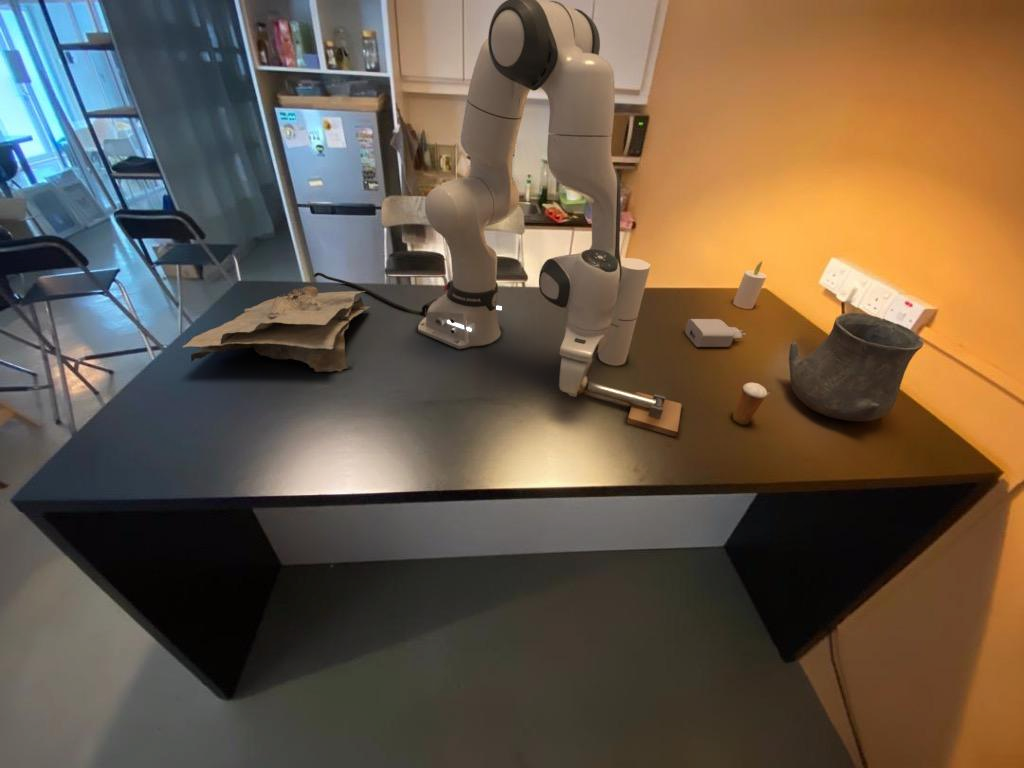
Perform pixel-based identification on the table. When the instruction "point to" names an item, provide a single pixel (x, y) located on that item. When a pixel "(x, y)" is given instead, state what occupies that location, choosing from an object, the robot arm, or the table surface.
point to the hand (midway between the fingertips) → (576, 386)
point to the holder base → (656, 416)
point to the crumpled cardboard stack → (290, 329)
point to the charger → (711, 333)
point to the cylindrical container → (625, 311)
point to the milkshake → (749, 402)
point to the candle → (749, 288)
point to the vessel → (854, 368)
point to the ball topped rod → (619, 394)
